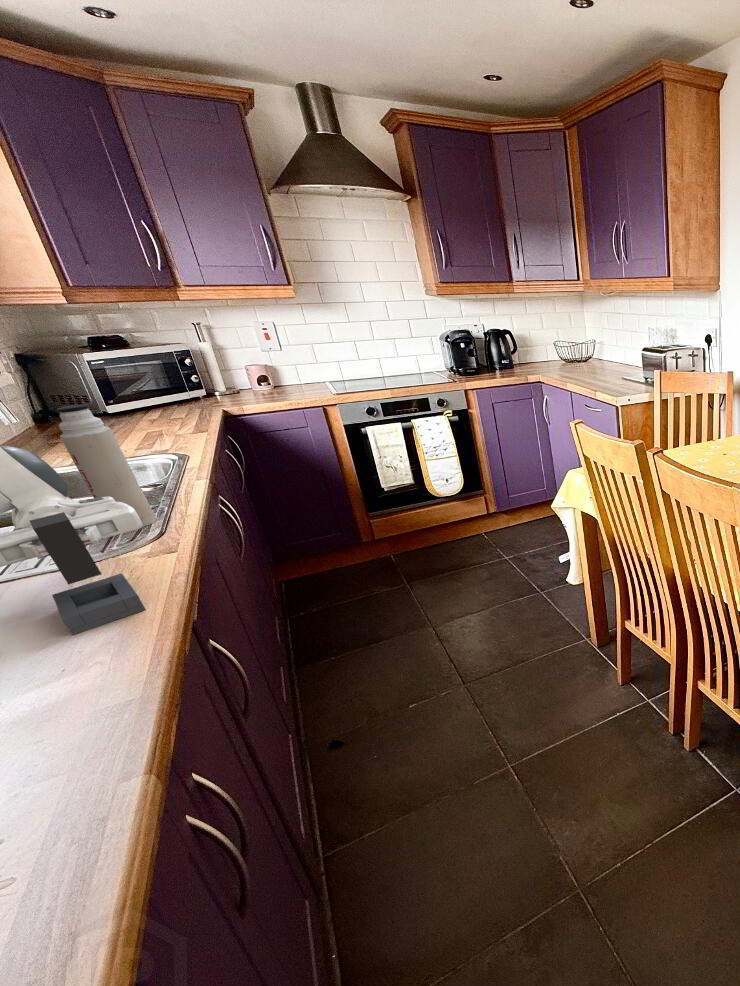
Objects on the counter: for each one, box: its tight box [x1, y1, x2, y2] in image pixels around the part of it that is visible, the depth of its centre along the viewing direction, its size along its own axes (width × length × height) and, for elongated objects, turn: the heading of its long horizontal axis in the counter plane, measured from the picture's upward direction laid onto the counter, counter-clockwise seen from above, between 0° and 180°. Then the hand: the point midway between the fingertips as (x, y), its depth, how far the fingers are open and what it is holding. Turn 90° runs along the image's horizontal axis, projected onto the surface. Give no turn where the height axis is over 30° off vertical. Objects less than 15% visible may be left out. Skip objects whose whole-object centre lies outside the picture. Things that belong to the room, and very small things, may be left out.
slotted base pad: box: [51, 573, 146, 636], centre depth 99 cm, size 14×9×3 cm, turn 52°
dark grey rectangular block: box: [30, 512, 102, 585], centre depth 95 cm, size 6×4×10 cm, turn 52°
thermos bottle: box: [56, 403, 157, 528], centre depth 131 cm, size 8×8×28 cm
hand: (65, 546), depth 94 cm, fingers closed on dark grey rectangular block, 4 cm apart
